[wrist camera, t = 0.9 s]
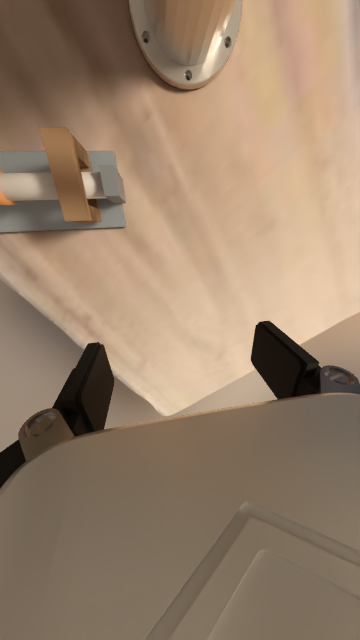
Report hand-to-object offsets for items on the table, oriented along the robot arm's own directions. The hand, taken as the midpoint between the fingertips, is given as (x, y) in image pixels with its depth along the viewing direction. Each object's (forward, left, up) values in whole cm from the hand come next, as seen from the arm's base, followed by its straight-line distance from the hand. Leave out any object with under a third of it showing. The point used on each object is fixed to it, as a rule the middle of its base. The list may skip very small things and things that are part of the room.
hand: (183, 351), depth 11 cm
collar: (-12, -9, -23) cm, 27 cm away
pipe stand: (-12, -15, -25) cm, 31 cm away
